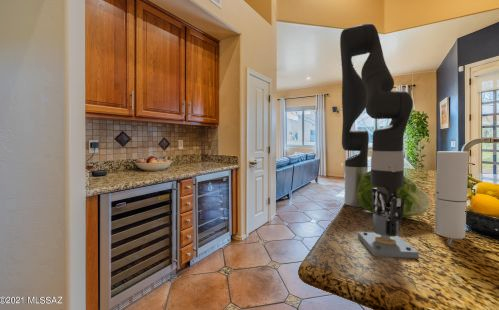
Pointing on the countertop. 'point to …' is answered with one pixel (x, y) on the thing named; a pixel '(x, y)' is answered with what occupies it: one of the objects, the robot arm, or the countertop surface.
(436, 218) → the cylindrical container
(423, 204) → the lettuce
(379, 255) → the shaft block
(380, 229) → the collar
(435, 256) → the countertop surface
